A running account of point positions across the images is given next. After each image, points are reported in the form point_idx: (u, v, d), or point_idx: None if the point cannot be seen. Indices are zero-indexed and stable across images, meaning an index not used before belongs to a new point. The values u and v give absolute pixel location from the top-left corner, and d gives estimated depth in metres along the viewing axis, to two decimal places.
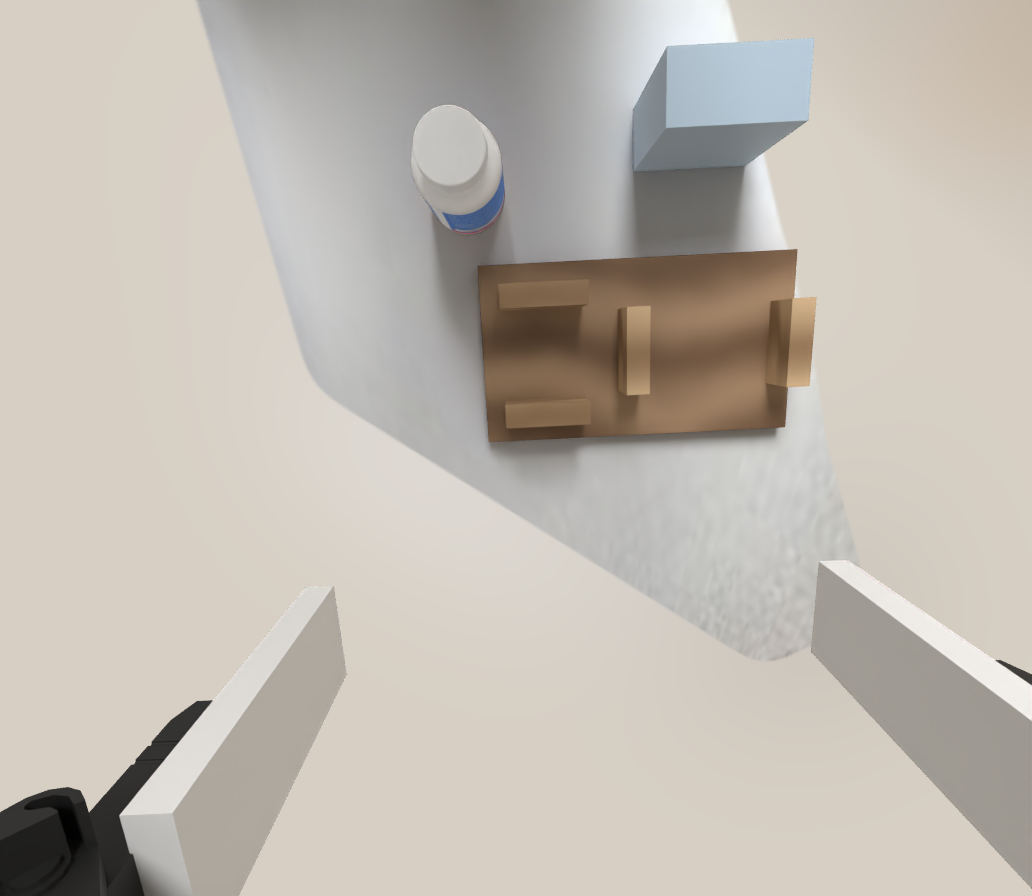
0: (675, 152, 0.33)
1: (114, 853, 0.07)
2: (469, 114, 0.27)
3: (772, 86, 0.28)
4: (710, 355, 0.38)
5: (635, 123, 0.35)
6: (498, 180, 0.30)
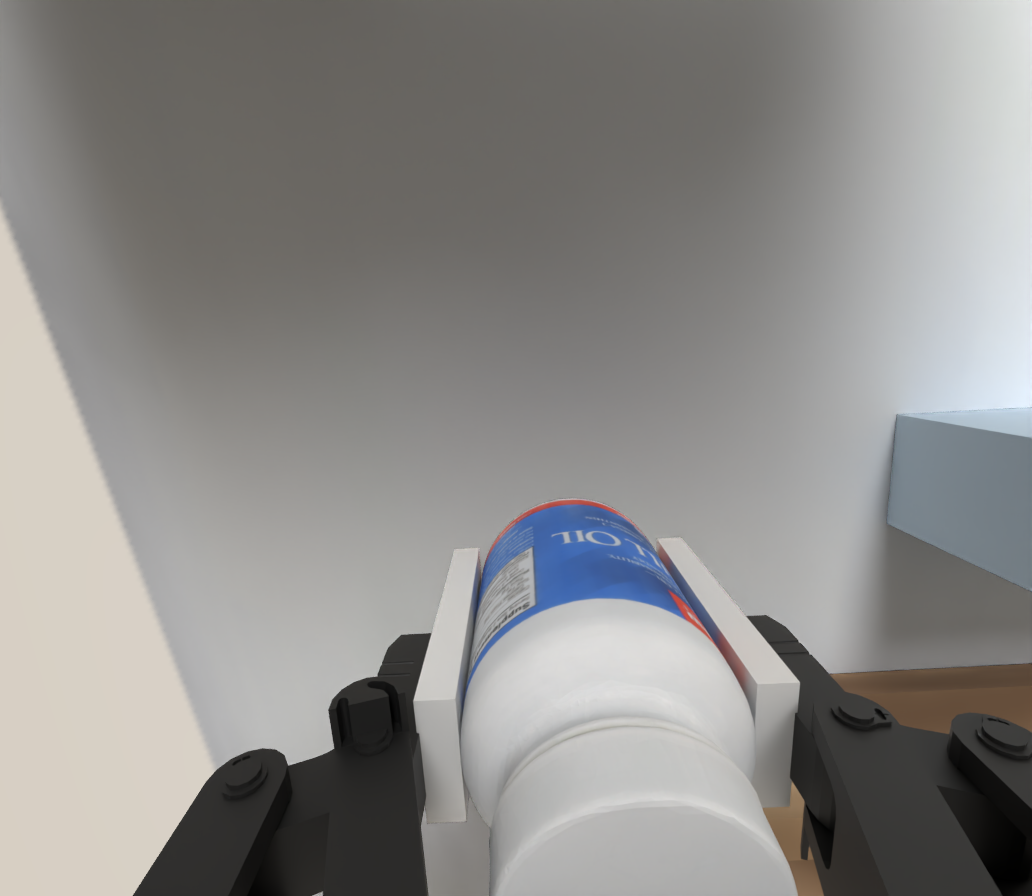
0: None
1: None
2: (745, 836, 0.06)
3: None
4: None
5: (908, 450, 0.17)
6: None
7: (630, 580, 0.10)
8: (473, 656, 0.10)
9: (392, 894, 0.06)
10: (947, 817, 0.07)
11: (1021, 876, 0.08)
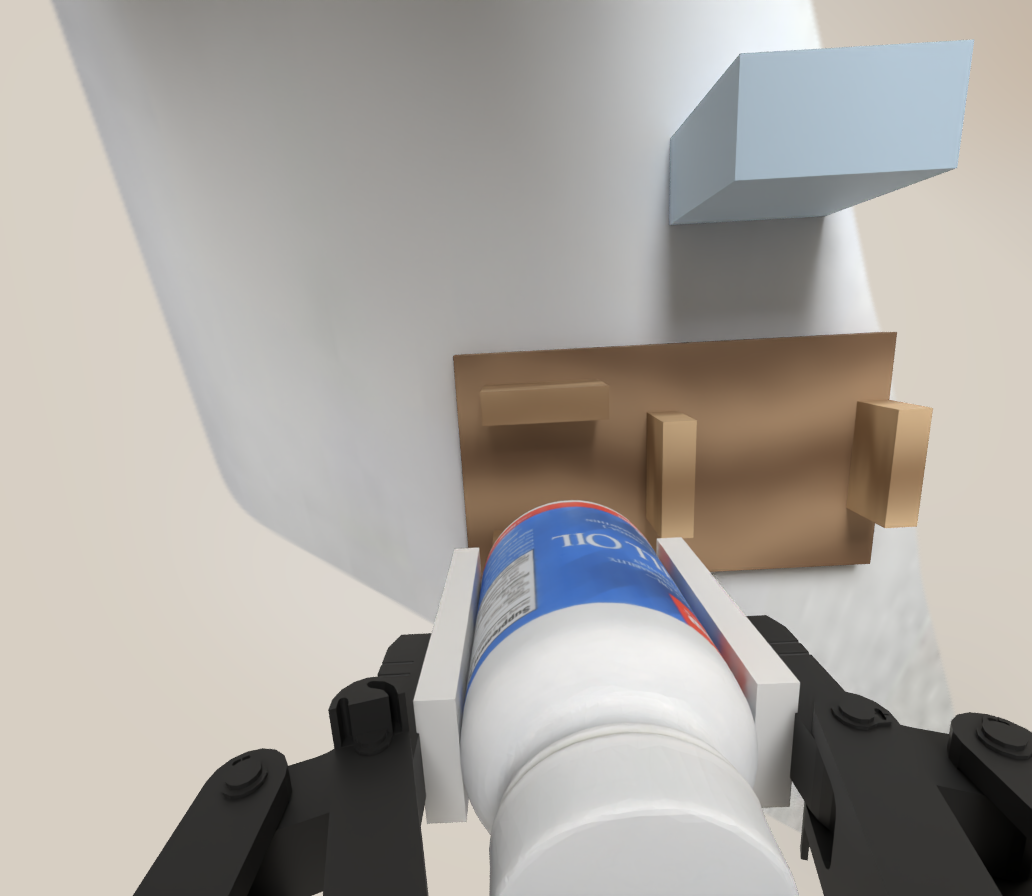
0: (736, 205, 0.22)
1: None
2: (748, 845, 0.06)
3: (903, 116, 0.18)
4: (772, 472, 0.28)
5: (673, 159, 0.25)
6: None
7: (630, 584, 0.10)
8: (473, 660, 0.10)
9: (392, 894, 0.06)
10: (948, 818, 0.07)
11: (1021, 876, 0.08)
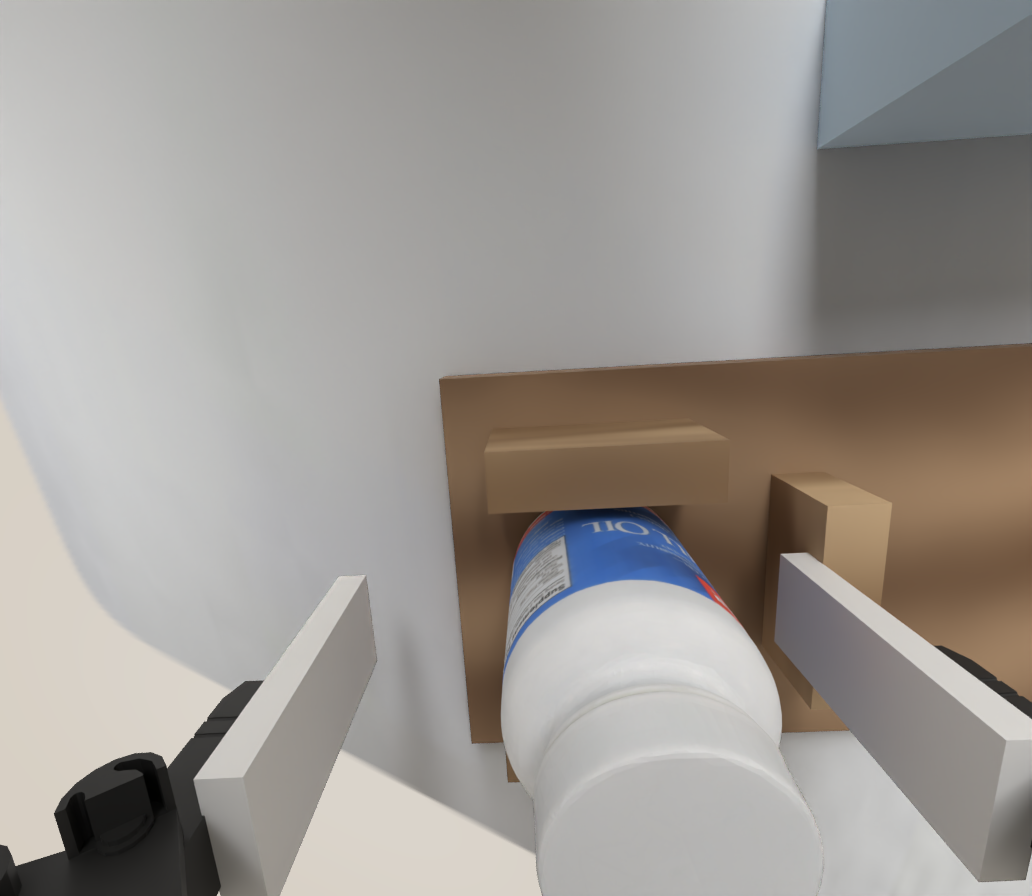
0: (997, 83, 0.11)
1: (187, 815, 0.08)
2: (774, 787, 0.07)
3: None
4: (982, 574, 0.16)
5: (838, 23, 0.14)
6: None
7: (660, 565, 0.11)
8: (510, 635, 0.11)
9: None
10: None
11: None
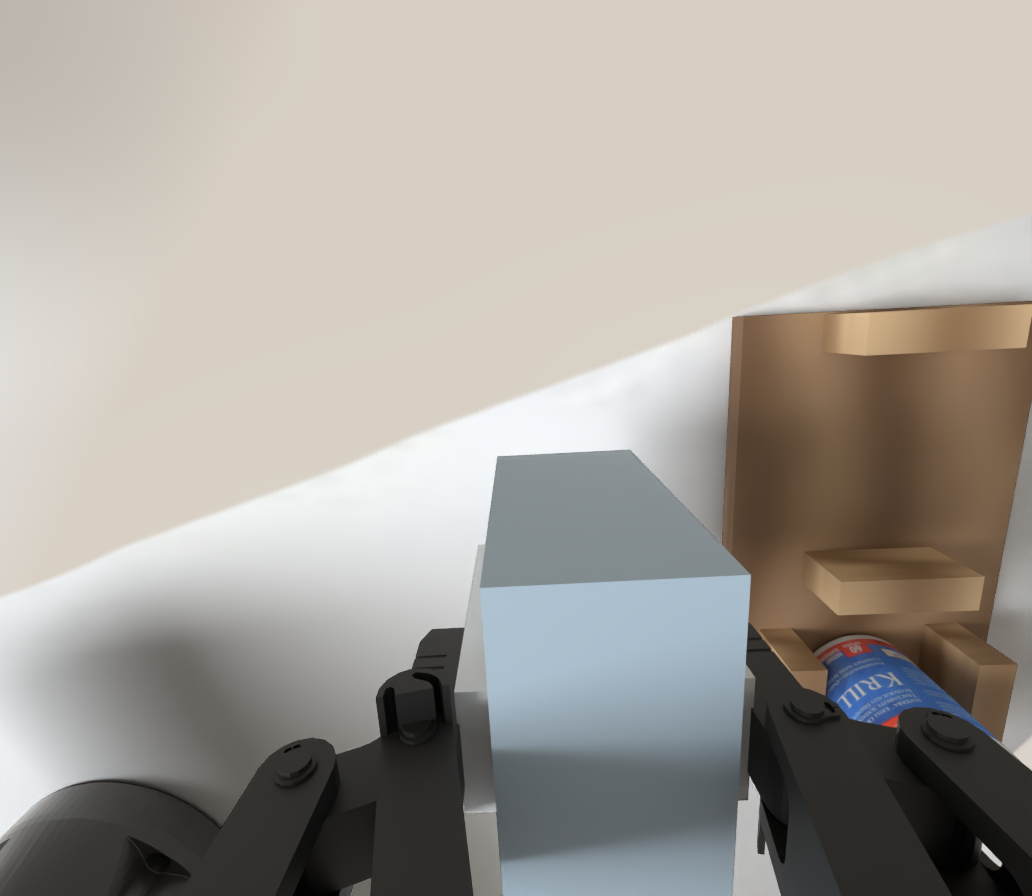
0: None
1: None
2: (989, 852, 0.16)
3: (630, 705, 0.08)
4: (895, 441, 0.23)
5: None
6: None
7: None
8: None
9: (438, 882, 0.06)
10: (893, 806, 0.07)
11: (966, 865, 0.08)
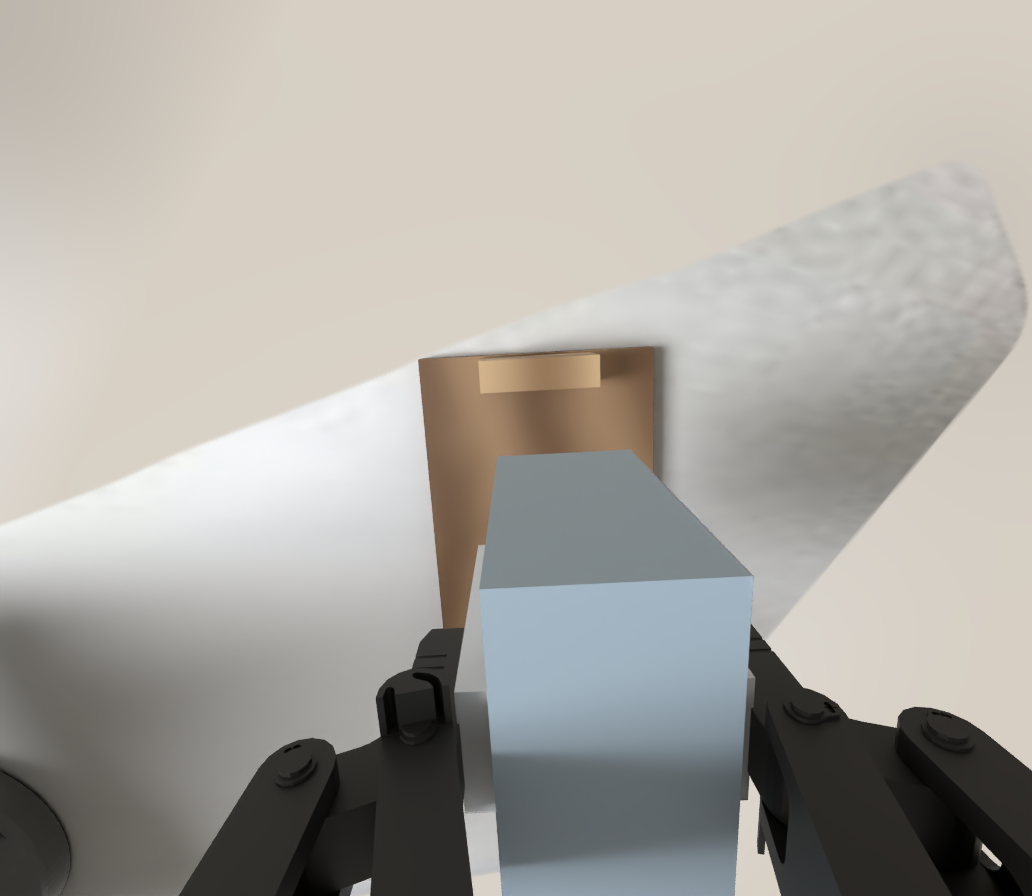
0: None
1: None
2: None
3: (631, 707, 0.08)
4: None
5: None
6: None
7: None
8: None
9: (438, 882, 0.06)
10: (892, 806, 0.07)
11: (965, 865, 0.08)
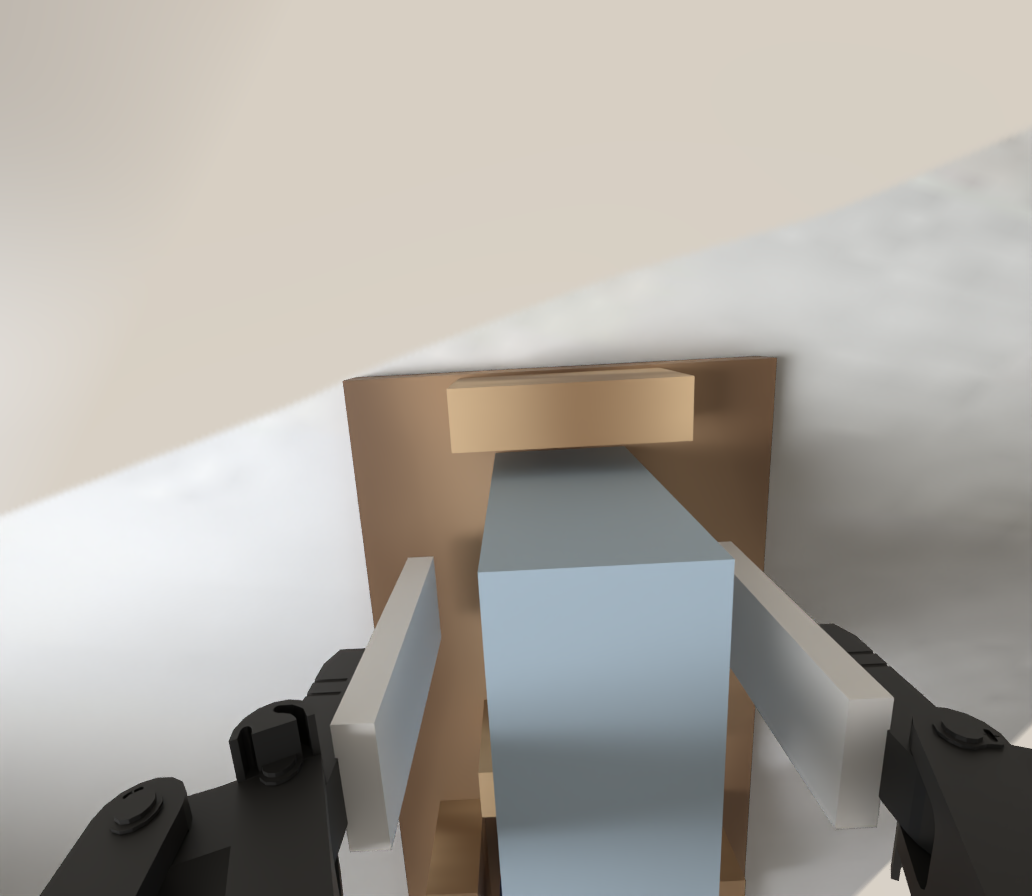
0: None
1: (322, 758, 0.09)
2: None
3: (621, 685, 0.08)
4: None
5: None
6: None
7: None
8: None
9: None
10: None
11: None
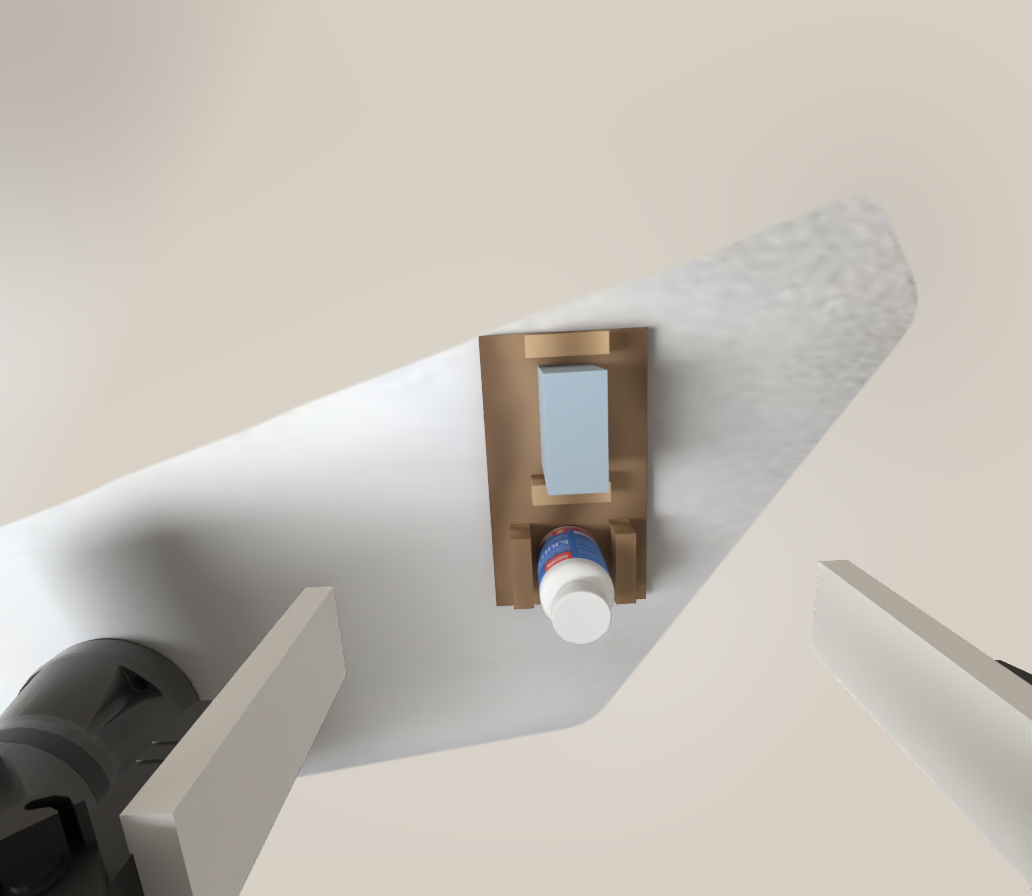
0: None
1: (114, 853, 0.07)
2: (559, 603, 0.33)
3: (579, 405, 0.32)
4: None
5: None
6: (590, 564, 0.36)
7: (540, 578, 0.38)
8: None
9: None
10: None
11: None
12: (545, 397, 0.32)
